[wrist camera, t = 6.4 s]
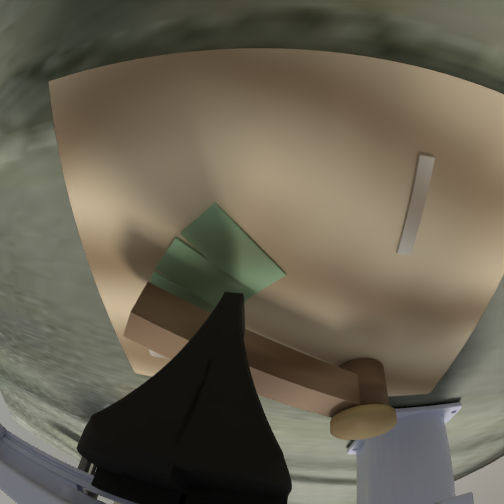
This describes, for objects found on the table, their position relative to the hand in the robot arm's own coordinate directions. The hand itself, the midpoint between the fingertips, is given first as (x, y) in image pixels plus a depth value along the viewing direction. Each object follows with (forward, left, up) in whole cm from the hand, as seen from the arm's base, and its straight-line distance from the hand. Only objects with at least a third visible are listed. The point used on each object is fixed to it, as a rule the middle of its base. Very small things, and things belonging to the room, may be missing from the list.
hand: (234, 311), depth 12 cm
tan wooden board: (0, -2, -3) cm, 4 cm away
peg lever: (-4, -2, -2) cm, 4 cm away
